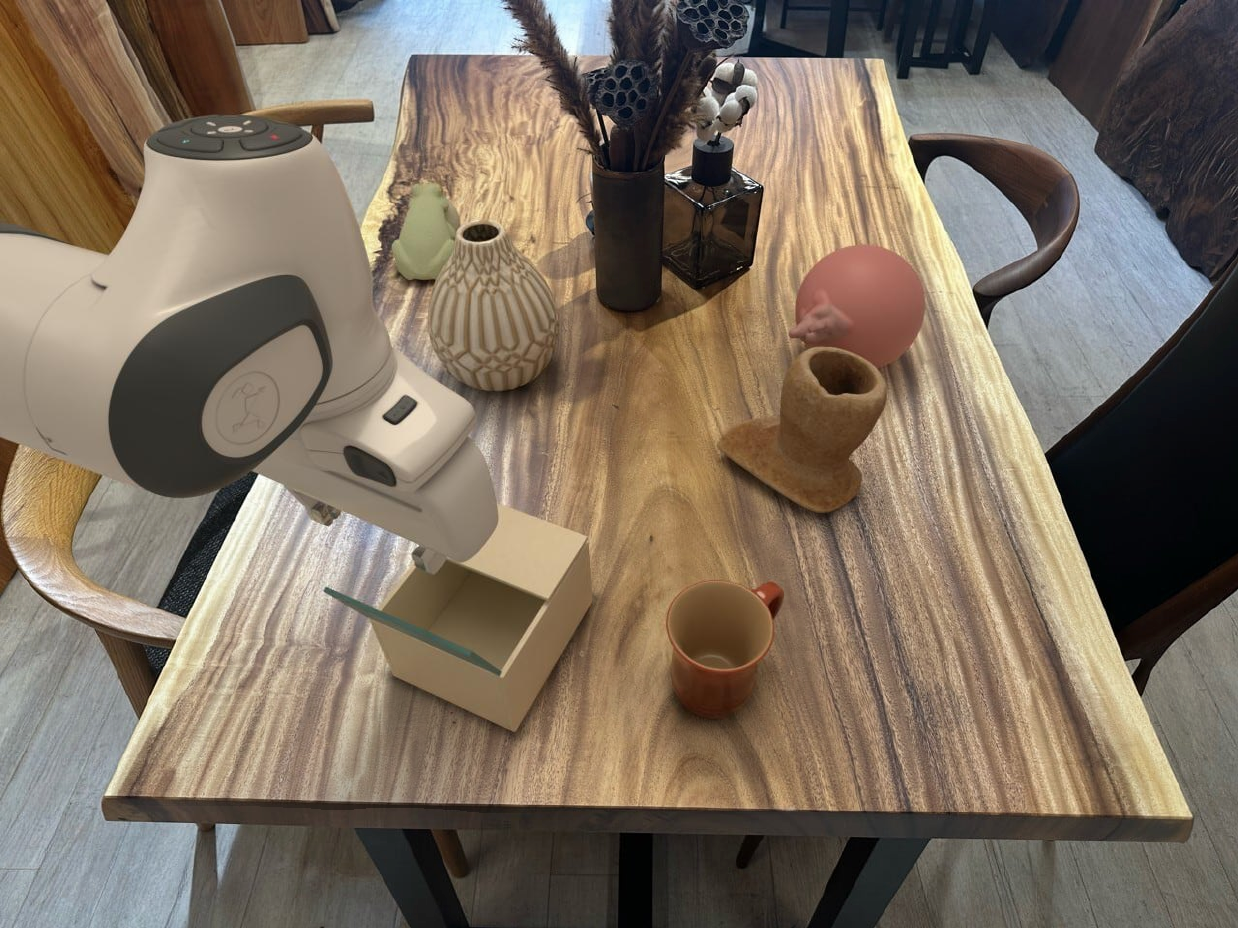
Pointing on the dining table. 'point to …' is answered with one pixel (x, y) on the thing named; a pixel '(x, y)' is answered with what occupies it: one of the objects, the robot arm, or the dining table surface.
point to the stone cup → (813, 429)
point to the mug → (719, 643)
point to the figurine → (426, 233)
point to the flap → (414, 631)
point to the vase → (491, 311)
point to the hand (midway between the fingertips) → (378, 540)
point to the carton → (493, 617)
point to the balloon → (861, 304)
